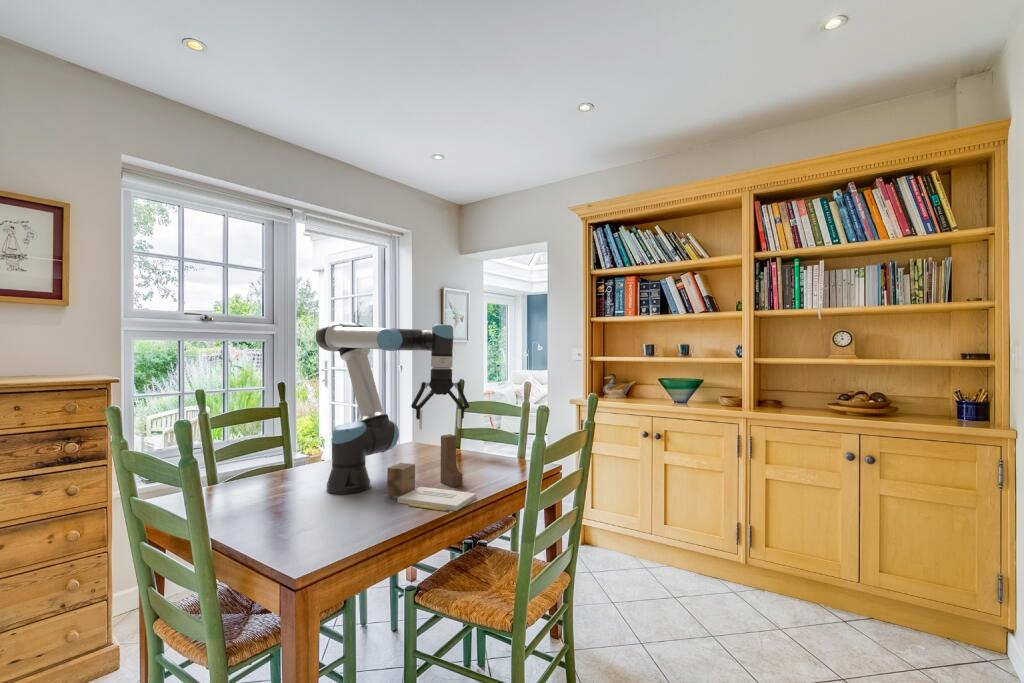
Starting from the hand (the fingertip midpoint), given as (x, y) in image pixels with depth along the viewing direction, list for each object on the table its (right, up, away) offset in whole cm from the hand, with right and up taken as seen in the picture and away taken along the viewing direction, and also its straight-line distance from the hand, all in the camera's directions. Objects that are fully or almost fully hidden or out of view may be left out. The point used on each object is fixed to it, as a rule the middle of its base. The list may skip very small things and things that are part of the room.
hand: (439, 428), depth 173 cm
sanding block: (-13, -23, -1) cm, 27 cm away
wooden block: (+3, -23, +12) cm, 26 cm away
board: (0, -23, -8) cm, 24 cm away
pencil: (-2, -23, -16) cm, 28 cm away
